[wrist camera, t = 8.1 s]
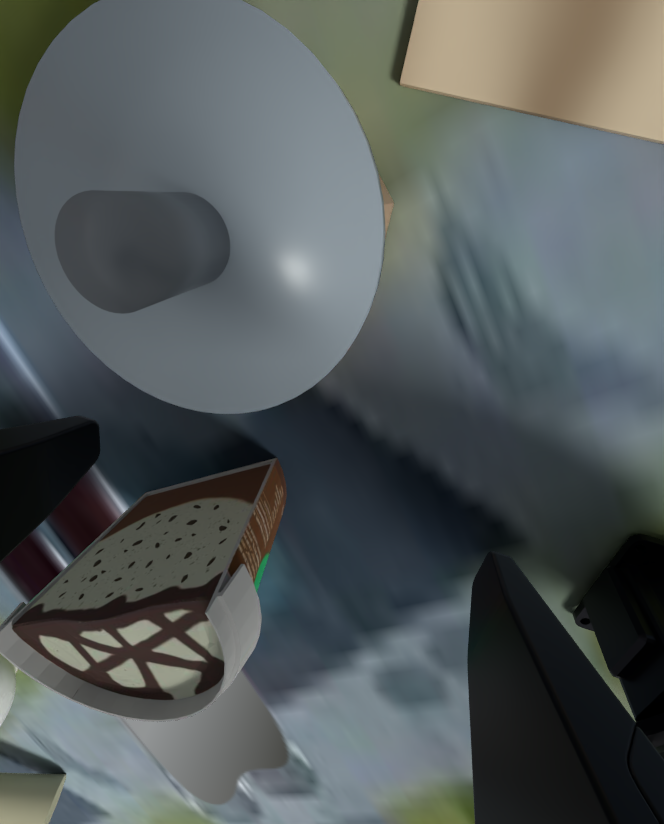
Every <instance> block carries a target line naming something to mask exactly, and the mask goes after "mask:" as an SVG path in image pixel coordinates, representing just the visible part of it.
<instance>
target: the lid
mask: <svg viewBox="0 0 664 824" xmlns="http://www.w3.org/2000/svg"><path fill="white" fill-rule="evenodd" d="M14 172H15V187H16V197H17V203H18V209H19V214H20V220H21V224H22V228H23V231H24V235H25V239H26V242H27V246H28V249H29V251H30V254H31V256H32V259H33V262H34V264H35V267H36V270H37V272H38V274H39V276H40V278H41V280H42V282H43V284H44V286H45V288H46V290H47V292H48V294H49V296H50V297H51V299H52V301H53V302H54V304H55V305H56V307H57V309H58V310H59V312H60V314H61V315H62V316H63V318H64V319H65V321H66V322H67V323H68V325H69V326H70V327H71V329H72V330H73V331H74V333H75V334H76V335H77V336H78V337H79V338H80V340H81V341H82V342H83V343H84V344H85V345H86V346H87V347H88V349H89V350H90V351H91V352H92V353H93V354H95V355H96V356H97V357H98V358H99V359H100V360H101V361H102V362H103V363H104V364H105V365H106V366H107V367H109V368H110V369H111V370H113V371H114V372H115V373H117V374H118V375H119V376H120V377H122V378H123V379H124V380H126V381H128V382H129V383H131V384H132V385H134V386H136V387H137V388H139V389H140V390H142V391H144V392H146V393H148V394H150V395H152V396H154V397H156V398H158V399H160V400H163V401H165V402H168V403H171V404H174V405H176V406H179V407H183V408H187V409H191V410H195V411H199V412H207V413H216V414H241V413H248V412H255V411H260V410H264V409H267V408H271V407H274V406H277V405H280V404H282V403H284V402H286V401H289V400H291V399H293V398H295V397H297V396H299V395H300V394H302V393H303V392H305V391H307V390H308V389H310V388H311V387H313V386H314V385H315V384H317V383H318V382H319V381H320V380H321V379H322V378H324V377H325V376H326V375H327V374H328V373H329V372H330V371H331V370H332V369H333V368H334V367H335V366H336V364H337V363H338V362H339V361H340V360H341V359H342V358H343V357H344V355H345V354H346V352H347V351H348V349H349V348H350V346H351V344H352V343H353V341H354V340H355V338H356V337H357V335H358V333H359V331H360V329H361V327H362V325H363V323H364V321H365V319H366V317H367V315H368V313H369V311H370V309H371V306H372V303H373V300H374V297H375V294H376V291H377V288H378V285H379V280H380V275H381V270H382V265H383V260H384V246H385V214H384V201H383V195H382V189H381V184H380V178H379V173H378V170H377V166H376V163H375V160H374V156H373V153H372V150H371V147H370V144H369V141H368V139H367V137H366V135H365V132H364V130H363V128H362V126H361V123H360V121H359V119H358V116H357V115H356V113H355V111H354V110H353V108H352V106H351V105H350V103H349V101H348V100H347V98H346V96H345V95H344V93H343V91H342V90H341V88H340V87H339V86H338V84H337V83H336V82H335V80H334V79H333V78H332V77H331V75H330V74H329V73H328V72H327V70H326V69H325V68H324V67H323V65H322V64H321V63H320V62H319V60H318V59H317V58H316V57H315V55H314V54H313V53H312V52H311V51H310V50H309V49H308V48H307V47H306V46H305V45H304V44H303V43H302V42H301V41H300V40H298V39H297V38H296V37H295V36H294V35H293V34H292V33H291V32H290V31H289V30H288V29H287V28H285V27H284V26H283V25H281V24H280V23H278V22H277V21H276V20H274V19H273V18H271V17H270V16H269V15H267V14H266V13H264V12H263V11H262V10H260V9H258V8H256V7H254V6H252V5H250V4H248V3H246V2H244V1H242V0H100V1H98V2H96V3H94V4H92V5H91V6H89V7H88V8H87V9H86V10H84V11H83V12H82V13H80V14H79V15H78V16H76V17H75V18H74V19H72V20H71V21H70V22H69V23H68V24H67V25H66V27H65V28H64V29H63V30H62V31H61V32H60V33H59V34H58V35H57V36H56V38H55V39H54V40H53V41H52V42H51V44H50V46H49V47H48V49H47V50H46V52H45V53H44V55H43V56H42V58H41V59H40V61H39V63H38V65H37V67H36V69H35V71H34V73H33V76H32V78H31V80H30V82H29V85H28V87H27V90H26V93H25V97H24V100H23V104H22V107H21V110H20V114H19V120H18V126H17V133H16V139H15V160H14Z"/></svg>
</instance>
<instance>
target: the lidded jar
mask: <svg viewBox="0 0 664 824" xmlns="http://www.w3.org/2000/svg"><path fill="white" fill-rule="evenodd" d="M17 670H18V668H17V667H16V666H14V665H13V664H12V663H11V662H9V661H8V660H7V659H6V658H5V657H3V656H2V655H1V654H0V726H1V725H2V723H3V721H4V719H5V717H6V716H7V714H8V712H9V710H10V707H11V705H12V702H13V699H14V695H15V688H16V675H15V673H16V672H17Z"/></svg>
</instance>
